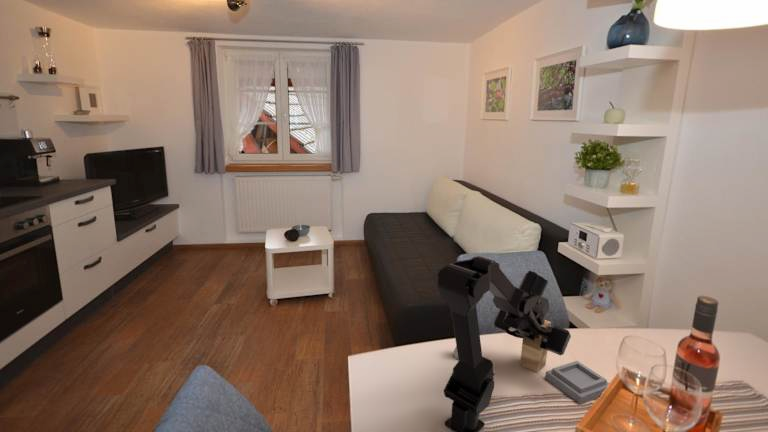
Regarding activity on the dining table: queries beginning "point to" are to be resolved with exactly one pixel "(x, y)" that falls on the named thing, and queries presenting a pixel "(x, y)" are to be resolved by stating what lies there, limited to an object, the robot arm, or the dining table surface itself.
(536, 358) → the oak brick column
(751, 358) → the dining table surface
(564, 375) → the base plate
